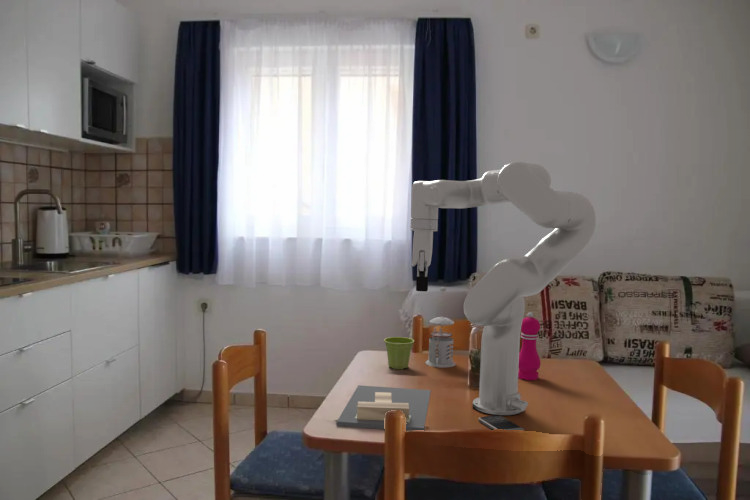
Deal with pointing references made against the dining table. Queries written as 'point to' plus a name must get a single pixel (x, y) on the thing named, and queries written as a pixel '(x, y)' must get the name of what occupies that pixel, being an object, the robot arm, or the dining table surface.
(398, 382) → the dining table surface
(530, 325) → the pepper mill
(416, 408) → the mat
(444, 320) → the french press
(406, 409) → the t block
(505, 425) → the cell phone
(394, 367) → the plant pot
